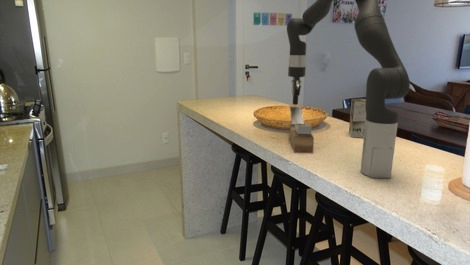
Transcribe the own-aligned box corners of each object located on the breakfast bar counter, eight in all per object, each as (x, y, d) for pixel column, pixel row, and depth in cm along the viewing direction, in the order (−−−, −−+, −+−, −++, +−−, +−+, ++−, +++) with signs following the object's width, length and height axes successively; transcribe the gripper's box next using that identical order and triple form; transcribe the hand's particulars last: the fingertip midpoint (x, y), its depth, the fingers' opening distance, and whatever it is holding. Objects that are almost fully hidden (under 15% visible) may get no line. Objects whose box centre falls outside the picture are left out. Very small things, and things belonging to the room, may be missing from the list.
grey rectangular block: (311, 134, 130) (311, 125, 129) (297, 134, 130) (298, 124, 129) (307, 131, 138) (307, 122, 138) (294, 131, 139) (295, 122, 138)
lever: (304, 124, 147) (301, 105, 155) (291, 124, 147) (289, 105, 156) (304, 126, 148) (301, 107, 156) (291, 126, 148) (289, 107, 157)
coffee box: (366, 138, 151) (369, 101, 147) (350, 137, 152) (354, 101, 148) (362, 132, 160) (366, 98, 156) (348, 132, 161) (351, 97, 157)
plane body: (313, 152, 131) (314, 135, 129) (294, 152, 131) (294, 135, 130) (305, 139, 149) (306, 124, 147) (288, 139, 149) (289, 124, 147)
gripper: (308, 66, 147) (305, 107, 151) (303, 64, 159) (301, 101, 164) (290, 66, 147) (288, 106, 151) (287, 64, 160) (285, 101, 164)
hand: (295, 104), depth 158 cm, fingers closed
